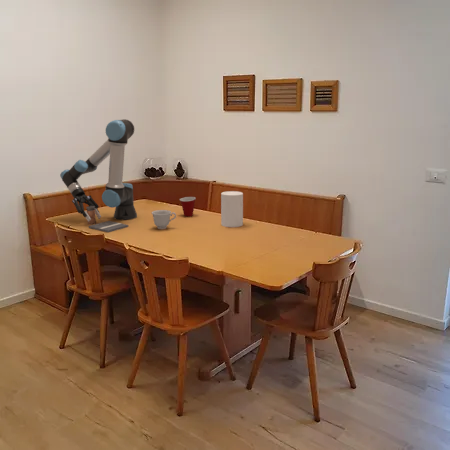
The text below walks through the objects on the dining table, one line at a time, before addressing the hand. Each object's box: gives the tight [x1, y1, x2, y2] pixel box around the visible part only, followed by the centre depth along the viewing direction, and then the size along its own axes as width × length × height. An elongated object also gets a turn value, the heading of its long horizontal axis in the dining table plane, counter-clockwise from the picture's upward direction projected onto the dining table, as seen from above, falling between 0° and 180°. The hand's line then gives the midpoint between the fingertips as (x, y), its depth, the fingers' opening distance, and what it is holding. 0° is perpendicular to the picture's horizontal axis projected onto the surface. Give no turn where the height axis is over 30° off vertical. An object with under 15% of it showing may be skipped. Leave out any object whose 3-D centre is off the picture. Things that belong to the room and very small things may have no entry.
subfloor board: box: [88, 220, 129, 233], centre depth 300 cm, size 16×18×1 cm
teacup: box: [151, 209, 177, 230], centre depth 297 cm, size 12×15×10 cm
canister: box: [220, 190, 244, 228], centre depth 304 cm, size 14×14×20 cm
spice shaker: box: [85, 205, 97, 226], centre depth 308 cm, size 5×5×11 cm
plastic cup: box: [179, 196, 196, 218], centre depth 328 cm, size 11×11×12 cm
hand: (94, 218), depth 307 cm, fingers open, 8 cm apart
